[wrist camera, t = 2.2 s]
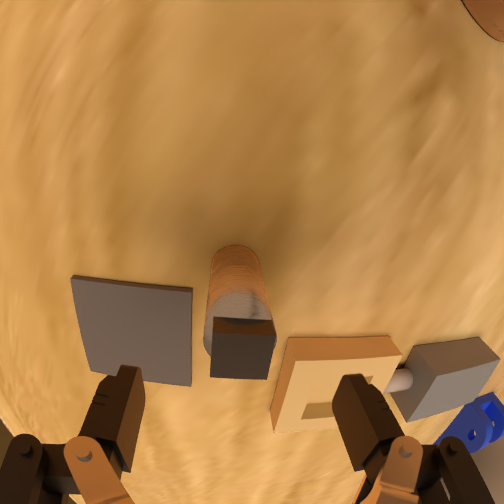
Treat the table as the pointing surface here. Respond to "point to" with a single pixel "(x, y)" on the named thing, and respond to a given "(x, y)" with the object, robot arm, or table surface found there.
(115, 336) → the mat
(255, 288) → the square capped bottle
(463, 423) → the bracket
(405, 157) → the table surface
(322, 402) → the tray with grey block
